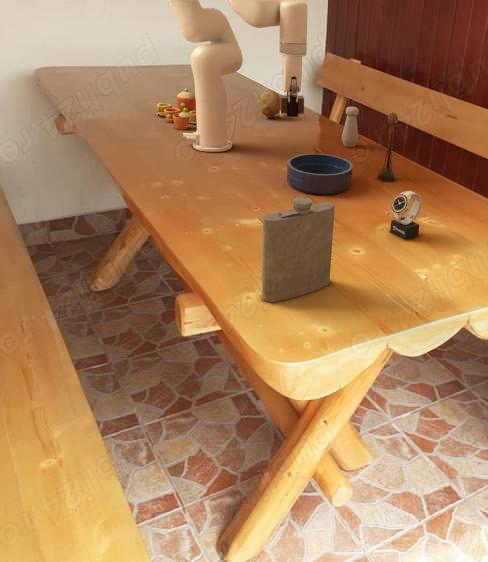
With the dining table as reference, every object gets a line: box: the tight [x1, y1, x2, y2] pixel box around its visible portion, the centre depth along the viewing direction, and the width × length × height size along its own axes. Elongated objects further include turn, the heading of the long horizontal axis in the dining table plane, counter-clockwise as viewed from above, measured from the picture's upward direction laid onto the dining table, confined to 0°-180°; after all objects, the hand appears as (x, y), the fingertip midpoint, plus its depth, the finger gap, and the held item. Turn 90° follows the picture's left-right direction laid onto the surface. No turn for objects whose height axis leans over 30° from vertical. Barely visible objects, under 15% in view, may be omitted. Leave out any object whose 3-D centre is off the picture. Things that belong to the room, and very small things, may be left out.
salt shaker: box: [341, 106, 360, 148], centre depth 217 cm, size 6×6×13 cm
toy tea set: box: [153, 87, 197, 131], centre depth 231 cm, size 26×16×10 cm, turn 30°
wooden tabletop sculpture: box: [377, 112, 401, 183], centre depth 188 cm, size 6×5×20 cm
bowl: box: [286, 153, 354, 196], centre depth 184 cm, size 19×19×6 cm
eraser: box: [279, 94, 306, 119], centre depth 187 cm, size 7×4×6 cm, turn 98°
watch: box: [389, 190, 422, 241], centre depth 156 cm, size 6×8×11 cm
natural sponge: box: [259, 90, 281, 119], centre depth 242 cm, size 9×9×10 cm
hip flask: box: [261, 196, 336, 303], centre depth 126 cm, size 16×4×20 cm, turn 128°
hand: (291, 113), depth 188 cm, fingers closed on eraser, 4 cm apart
